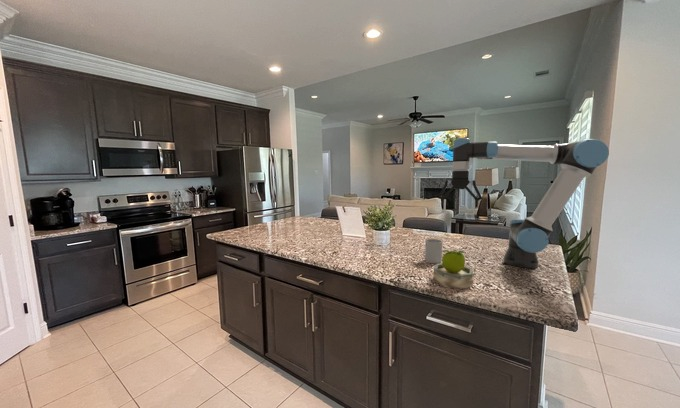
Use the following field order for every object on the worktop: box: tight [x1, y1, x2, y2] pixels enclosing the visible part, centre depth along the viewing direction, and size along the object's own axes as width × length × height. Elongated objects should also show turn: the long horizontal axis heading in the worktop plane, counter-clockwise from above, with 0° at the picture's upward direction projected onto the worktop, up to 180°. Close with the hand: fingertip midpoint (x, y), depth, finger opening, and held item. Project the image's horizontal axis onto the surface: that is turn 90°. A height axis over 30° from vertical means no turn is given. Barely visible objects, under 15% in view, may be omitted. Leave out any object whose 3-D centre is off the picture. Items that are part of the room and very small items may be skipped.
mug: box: [424, 238, 443, 264], centre depth 152 cm, size 12×8×11 cm
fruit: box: [441, 250, 466, 273], centre depth 123 cm, size 9×9×10 cm
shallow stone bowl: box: [432, 262, 474, 290], centre depth 124 cm, size 16×16×6 cm
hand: (458, 213), depth 143 cm, fingers open, 13 cm apart
